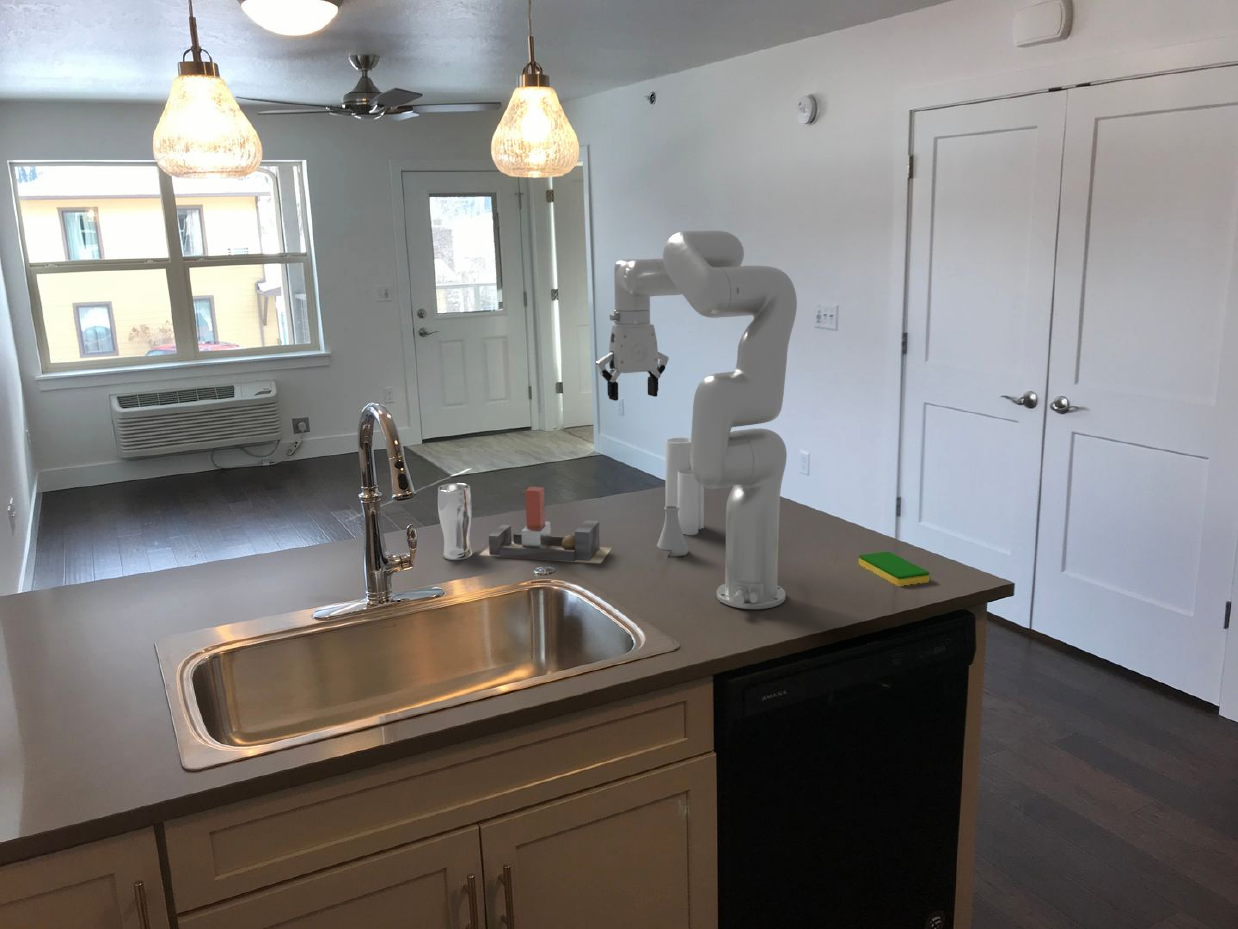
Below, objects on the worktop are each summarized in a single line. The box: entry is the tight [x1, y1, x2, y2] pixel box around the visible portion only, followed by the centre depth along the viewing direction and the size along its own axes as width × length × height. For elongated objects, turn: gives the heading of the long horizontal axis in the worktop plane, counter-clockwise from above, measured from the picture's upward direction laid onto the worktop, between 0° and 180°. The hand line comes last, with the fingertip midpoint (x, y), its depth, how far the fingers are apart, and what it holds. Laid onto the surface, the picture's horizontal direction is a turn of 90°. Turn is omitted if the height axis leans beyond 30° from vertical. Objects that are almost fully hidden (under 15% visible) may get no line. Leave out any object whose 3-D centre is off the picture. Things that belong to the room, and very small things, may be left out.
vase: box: [664, 437, 705, 536], centre depth 219 cm, size 11×7×20 cm, turn 27°
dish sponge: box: [858, 551, 931, 587], centre depth 190 cm, size 7×14×2 cm, turn 19°
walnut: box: [562, 534, 575, 550], centre depth 199 cm, size 4×4×4 cm
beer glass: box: [437, 482, 473, 561], centre depth 202 cm, size 7×7×15 cm
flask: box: [656, 505, 689, 558], centre depth 203 cm, size 7×7×10 cm
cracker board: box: [478, 520, 613, 564], centre depth 200 cm, size 10×26×8 cm, turn 77°
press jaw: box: [520, 486, 552, 549], centre depth 200 cm, size 7×4×13 cm, turn 167°
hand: (633, 397), depth 210 cm, fingers open, 9 cm apart
